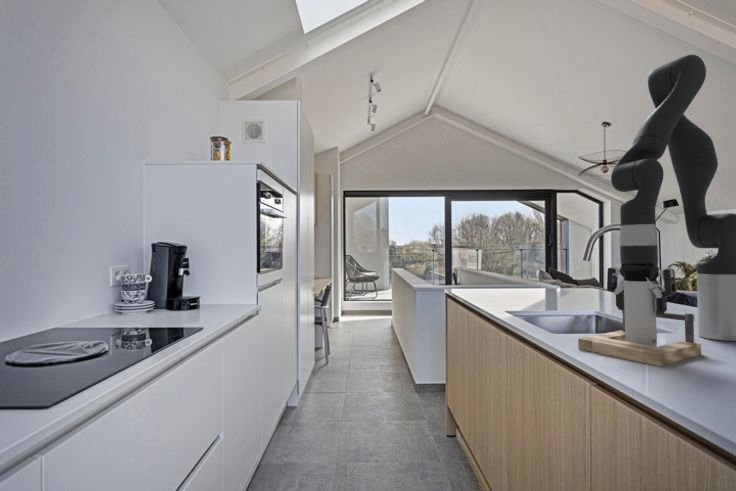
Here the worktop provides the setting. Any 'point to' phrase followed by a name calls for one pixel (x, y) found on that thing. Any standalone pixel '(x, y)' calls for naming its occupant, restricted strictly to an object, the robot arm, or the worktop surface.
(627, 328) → the travel mug
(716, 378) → the worktop surface
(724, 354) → the worktop surface
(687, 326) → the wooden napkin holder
